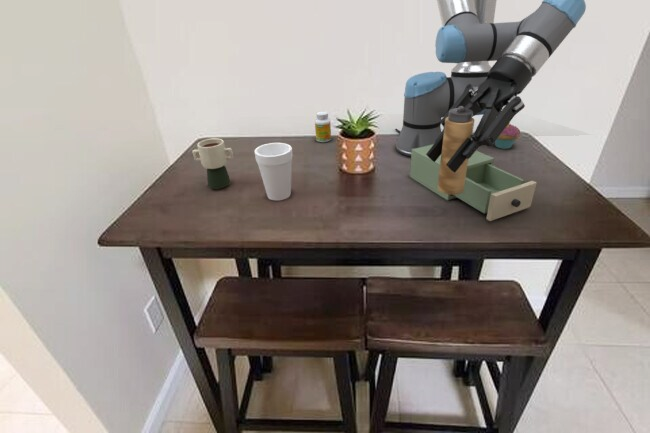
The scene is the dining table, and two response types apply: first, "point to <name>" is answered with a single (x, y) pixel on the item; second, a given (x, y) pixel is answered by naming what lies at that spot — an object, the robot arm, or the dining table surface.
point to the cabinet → (438, 168)
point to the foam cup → (275, 169)
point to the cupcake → (507, 137)
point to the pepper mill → (454, 149)
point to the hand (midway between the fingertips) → (440, 163)
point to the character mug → (214, 161)
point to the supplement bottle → (323, 127)
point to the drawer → (496, 191)
